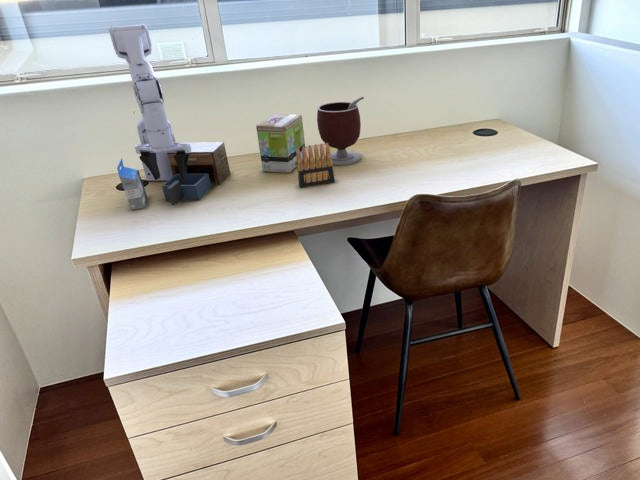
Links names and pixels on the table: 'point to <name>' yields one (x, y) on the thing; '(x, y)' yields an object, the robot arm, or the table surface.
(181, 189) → the storage box
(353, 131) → the mate gourd
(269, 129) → the tea box
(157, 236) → the table surface
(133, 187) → the label tape box
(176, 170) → the drawer pedestal
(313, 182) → the ammunition clip
